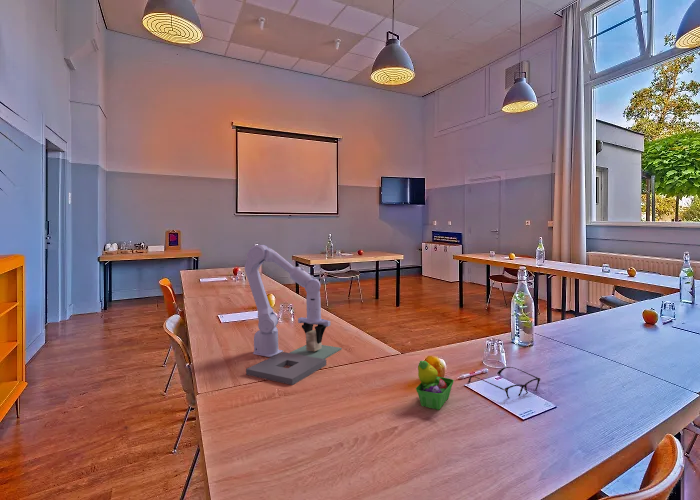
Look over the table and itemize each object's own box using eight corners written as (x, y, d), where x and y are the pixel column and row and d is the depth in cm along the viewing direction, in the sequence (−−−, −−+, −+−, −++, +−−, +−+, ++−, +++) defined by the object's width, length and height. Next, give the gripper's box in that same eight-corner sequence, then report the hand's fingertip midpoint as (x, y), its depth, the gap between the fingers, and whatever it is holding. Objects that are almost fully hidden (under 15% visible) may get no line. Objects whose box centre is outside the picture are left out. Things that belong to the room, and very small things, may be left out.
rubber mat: (286, 355, 147) (286, 353, 147) (310, 344, 161) (310, 342, 161) (320, 361, 139) (320, 359, 139) (341, 349, 153) (341, 347, 153)
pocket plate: (246, 374, 128) (246, 368, 128) (283, 356, 145) (283, 351, 145) (292, 385, 118) (292, 378, 118) (326, 364, 136) (326, 359, 136)
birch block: (306, 350, 148) (305, 332, 148) (313, 346, 153) (313, 329, 152) (314, 351, 147) (314, 334, 146) (321, 347, 151) (321, 331, 151)
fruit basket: (442, 413, 98) (441, 371, 97) (410, 405, 103) (410, 365, 102) (454, 396, 108) (454, 358, 107) (425, 390, 112) (425, 353, 112)
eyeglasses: (505, 402, 104) (505, 388, 104) (464, 383, 118) (464, 370, 118) (543, 390, 112) (543, 377, 111) (500, 373, 126) (500, 361, 125)
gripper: (293, 309, 149) (294, 342, 150) (323, 312, 142) (324, 347, 143) (303, 305, 156) (304, 337, 156) (333, 308, 148) (333, 342, 149)
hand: (314, 342), depth 150 cm, fingers closed on birch block, 4 cm apart
